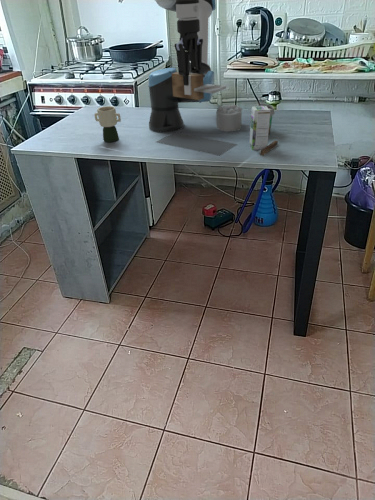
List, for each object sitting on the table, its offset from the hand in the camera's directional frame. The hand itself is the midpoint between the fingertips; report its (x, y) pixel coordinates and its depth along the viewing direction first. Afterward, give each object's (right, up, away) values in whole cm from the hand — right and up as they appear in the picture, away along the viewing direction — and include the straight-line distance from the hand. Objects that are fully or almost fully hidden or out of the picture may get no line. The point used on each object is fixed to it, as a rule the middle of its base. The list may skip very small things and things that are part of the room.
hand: (191, 93), depth 140 cm
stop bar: (+29, -20, +1) cm, 35 cm away
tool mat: (+2, -16, +9) cm, 19 cm away
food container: (+30, -10, +16) cm, 36 cm away
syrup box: (+25, -19, +3) cm, 32 cm away
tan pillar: (+2, -2, 0) cm, 3 cm away
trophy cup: (-33, -13, +17) cm, 39 cm away
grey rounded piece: (+16, -5, +24) cm, 29 cm away
